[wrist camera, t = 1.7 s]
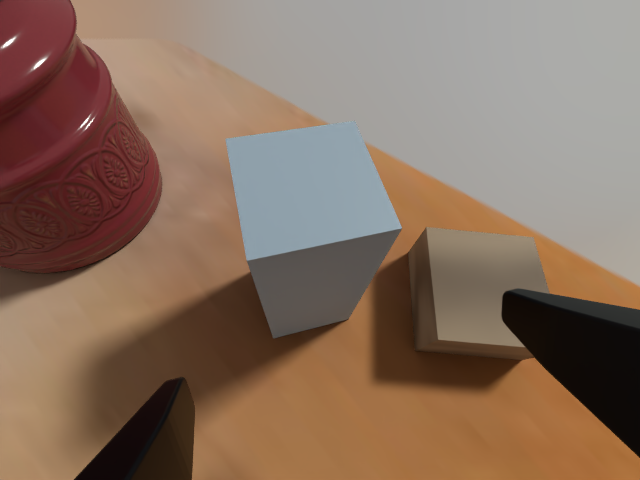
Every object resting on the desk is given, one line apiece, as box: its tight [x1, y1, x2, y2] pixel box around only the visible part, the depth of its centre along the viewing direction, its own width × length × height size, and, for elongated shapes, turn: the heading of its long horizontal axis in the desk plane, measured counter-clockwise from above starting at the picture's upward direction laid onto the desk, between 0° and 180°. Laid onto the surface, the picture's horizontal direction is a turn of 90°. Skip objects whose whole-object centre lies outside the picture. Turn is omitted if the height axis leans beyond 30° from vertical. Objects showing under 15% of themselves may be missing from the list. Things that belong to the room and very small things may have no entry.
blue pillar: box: [226, 121, 402, 338], centre depth 16 cm, size 5×5×12 cm
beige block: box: [408, 227, 550, 360], centre depth 20 cm, size 7×7×4 cm
